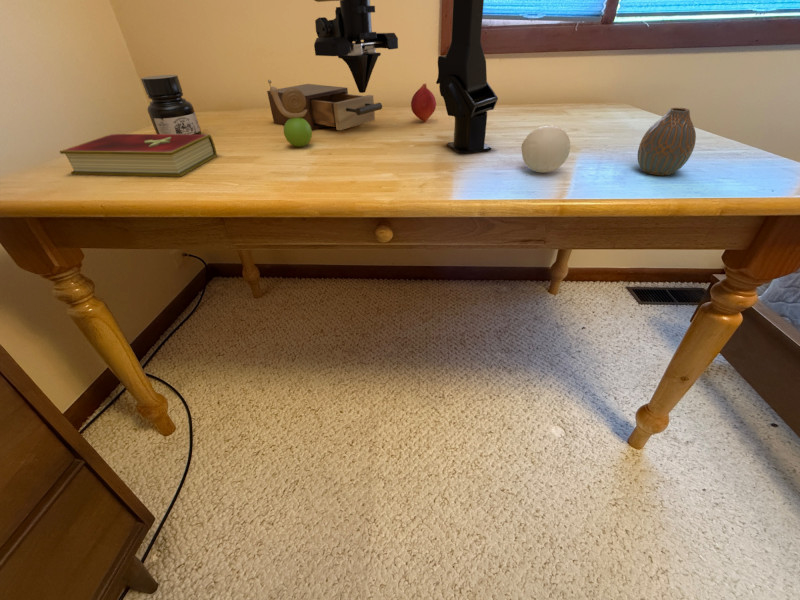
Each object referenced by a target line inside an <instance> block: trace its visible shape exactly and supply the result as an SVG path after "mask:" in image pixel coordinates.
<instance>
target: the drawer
mask: <svg viewBox="0 0 800 600" xmlns="http://www.w3.org/2000/svg"><path fill="white" fill-rule="evenodd" d="M374 101H375V99H374V95H373V94H367V95H358V94H352V93H351V94H350V93H348V94H342V93H338V94H333V95H328V96H323V97H318V98H314V99H310V103H311V110H312V116H313V123H316V124H321V125H327V126H326V127H334V128H335V127H336V129H335V130H336V131H343V130H347V129H350V128H354V127H356V126H357V127H358V126H360V125H364V124H367V123H370V122H371V123H372V122H374V121H376V115H375V112H377V111H380V110H382V109H383V104H382V102H376V103H375V102H374Z"/></svg>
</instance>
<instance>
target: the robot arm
mask: <svg viewBox="0 0 800 600" xmlns="http://www.w3.org/2000/svg"><path fill="white" fill-rule="evenodd" d="M338 1H339V6H335V10H334V12H335V14H334V15H335V18H334V19H328V18H327V17H325V16H324V17H317V18H316V19H315V20H314V24H315V25H314V26H315V32H316V36H317V37H316V39H315V41H314V43H313V48H314V55H315V56H316V57H317V56H318V57H319V56H320V57H338V59H341V60H342V61H344V63H346V65H347V66H348V67H347V68H349V71H350V73H351V75H352V78H353V81H354V83H355V86H356V88H357V90H358V92H359V94H360V93H361V94H364V93H366V91H367V88H368V85H369V82H370V79H371V76H372V73H373V70H374V68H375V66H376V63H377V61H378V58H379V57H381V54H382V53H381V52H377V51H376V49H387V50H396V49H397V50H398V49H399V38H398V36H397V35H396V33H395V32H377V31H373V29H372V13H376V6H375V5H371V0H314V2H316V3H324V2H326V3H327V2H338ZM484 2H485V0H452V13H451V14H452V16H451V36H450V37H451V38H450V39H451V40H450V45H449V48H448V50H447V52H446V54H444V55H439V56H438V58H437V71H438V72H437V79H436V82H435V84H436V85H439V86H438V87H439V88H438V89H439V94H440V96H441V97H442V98H443V101H444V105H445V109H446V114H447V116H448V117H453V118H454V129H453V141H450V142H446V147H448V148H450V149H451V150H453V151H454V152H456V153H457V154H460V155H463V154H471V153H472V154H473V153H479V152H487V151H492V148H493V147H492V146H490V145H489V144H487V143H485V142H486V133H487V123H488V122H487V121H488V112H489V111H493V110H494V109H495V108H496V105H497V103H498V100H499V97H498V96H497V94H496V93H495V91H494V90H493V88H492V87H491V85H490V84H489V82H488V79H487V77H488V76H487V60H486V56H485V53H484V49H483V47H482V41H481V40H482V27H483V16H484V15H483V14H484Z"/></svg>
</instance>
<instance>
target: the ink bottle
mask: <svg viewBox="0 0 800 600" xmlns="http://www.w3.org/2000/svg"><path fill="white" fill-rule="evenodd" d="M140 81H141V83H142V85H143V88H144V92H145V93H146V95H147V98H148V99H149V100H151V101H150V102H149V105H148V106H147V110H146V111H147V114H148V116H149V118H150V121H151V124H152V127H153V129H154V132H155V134H195V135H202V131H201V130H202V129H201V126H200V124H199V120H198V117H197V115H196V114H197V113H196V112H195V109H194V106H193V104H192V103H191V102H190V101H188V100H186V98H184V97H183V96H184V92H183V89H182V85H181V83H180V80H179V76H178V75H177V74H159V75H150V76H144V77H141V78H140Z"/></svg>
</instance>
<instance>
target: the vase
mask: <svg viewBox="0 0 800 600" xmlns="http://www.w3.org/2000/svg"><path fill="white" fill-rule="evenodd" d="M696 139H697V134H696V129H695V126H694V124H693V122H692V119H691V111H690V109H688V108H684V107H671V108H669V109H668V111H667V112H666V113H665V114H664V115H663V116H662V117H661V118H660V119H659V120H657V121H655V123H653V124H652V125H651V126H650V127H649V128H648V129H647V131H646V132H645V133H644V135H643V136H642V138H641V140H640V143H639V146H638V149H637V164H638V166H639V167H640V169H641V171H642V172H644V173H646V174H649V175H653V176H670V175H672V174H674V173H676V172H677V171H679V170H680V169H681V168H682V167H684V165H685V164H687V162H688V161H689V159H690V158H691V156H692V154H693V152H694V149H695V146H696Z"/></svg>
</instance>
